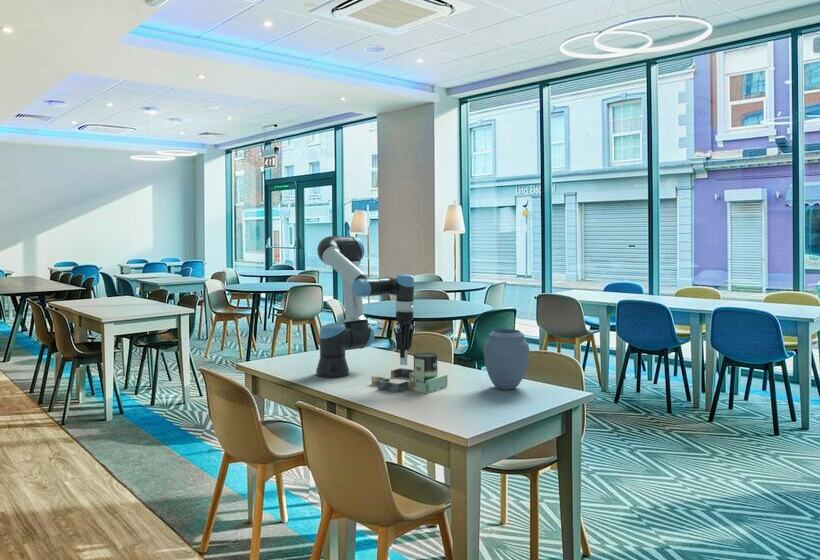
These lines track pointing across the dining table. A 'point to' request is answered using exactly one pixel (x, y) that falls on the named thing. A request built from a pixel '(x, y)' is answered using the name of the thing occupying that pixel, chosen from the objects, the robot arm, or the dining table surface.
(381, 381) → the channel
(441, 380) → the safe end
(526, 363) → the vase
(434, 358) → the coffee can
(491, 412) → the dining table surface
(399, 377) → the mats
